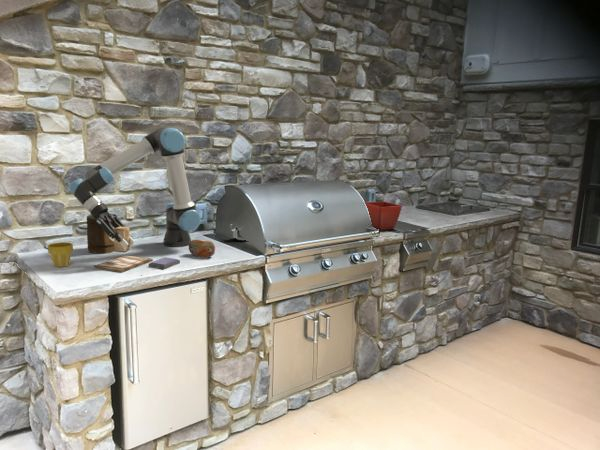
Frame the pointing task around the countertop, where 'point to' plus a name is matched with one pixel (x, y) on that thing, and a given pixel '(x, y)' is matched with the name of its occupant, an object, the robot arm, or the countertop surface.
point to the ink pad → (164, 263)
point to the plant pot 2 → (383, 214)
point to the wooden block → (126, 236)
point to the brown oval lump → (201, 248)
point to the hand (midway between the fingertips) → (129, 244)
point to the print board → (123, 263)
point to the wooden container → (98, 238)
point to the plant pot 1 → (60, 253)
